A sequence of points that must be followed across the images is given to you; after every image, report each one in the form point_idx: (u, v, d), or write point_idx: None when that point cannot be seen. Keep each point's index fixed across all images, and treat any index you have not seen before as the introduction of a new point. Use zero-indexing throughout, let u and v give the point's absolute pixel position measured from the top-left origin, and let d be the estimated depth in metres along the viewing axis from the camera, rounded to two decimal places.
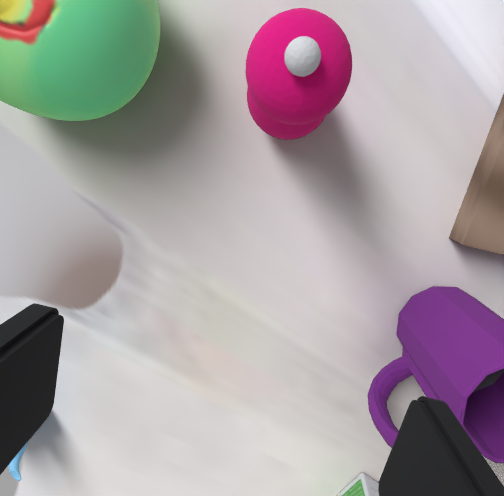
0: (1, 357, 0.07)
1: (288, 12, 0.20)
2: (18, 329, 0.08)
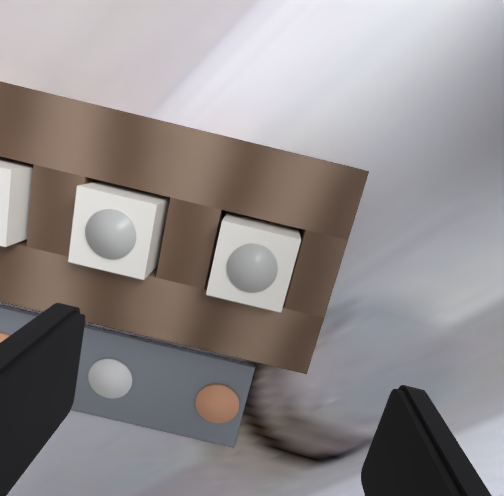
0: (31, 354, 0.08)
1: None
2: (45, 327, 0.09)
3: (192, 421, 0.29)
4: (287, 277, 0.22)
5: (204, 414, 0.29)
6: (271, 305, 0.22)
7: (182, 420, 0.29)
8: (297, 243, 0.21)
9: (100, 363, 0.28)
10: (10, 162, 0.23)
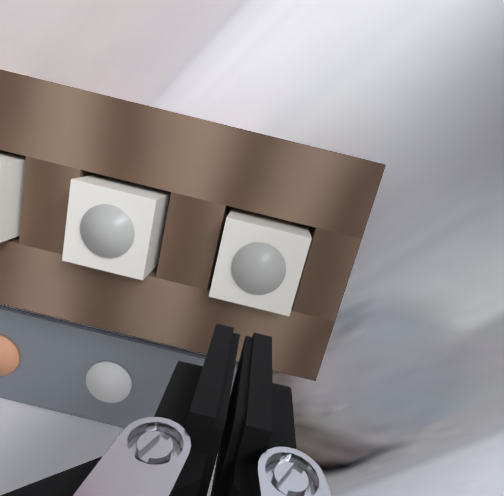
0: (229, 374, 0.09)
1: None
2: (224, 348, 0.10)
3: None
4: (296, 278, 0.20)
5: None
6: (278, 308, 0.21)
7: None
8: (307, 242, 0.20)
9: (98, 366, 0.27)
10: (1, 154, 0.21)
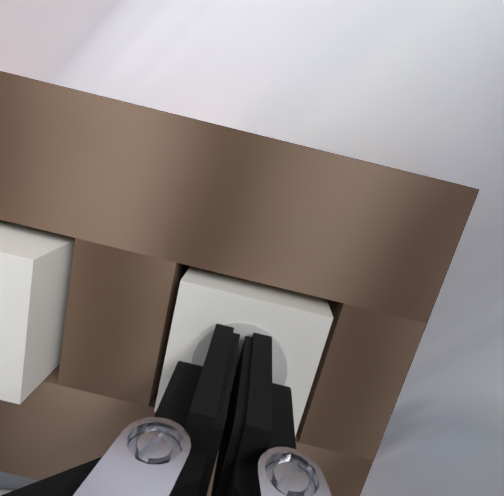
0: (229, 374, 0.09)
1: None
2: (224, 348, 0.10)
3: None
4: (305, 385, 0.12)
5: None
6: None
7: None
8: (325, 324, 0.11)
9: None
10: None
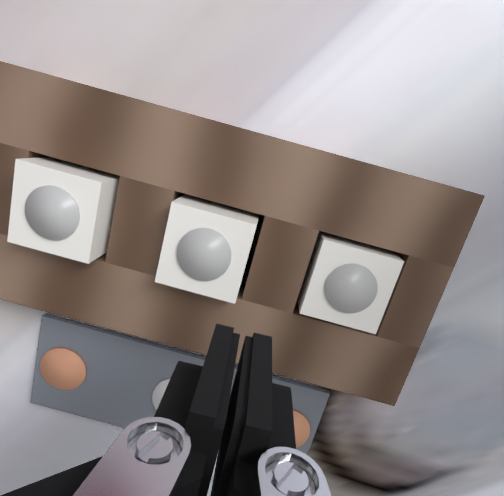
0: (229, 374, 0.09)
1: None
2: (224, 348, 0.10)
3: None
4: (386, 299, 0.21)
5: None
6: (366, 326, 0.22)
7: None
8: (399, 265, 0.21)
9: (166, 383, 0.27)
10: (93, 172, 0.21)
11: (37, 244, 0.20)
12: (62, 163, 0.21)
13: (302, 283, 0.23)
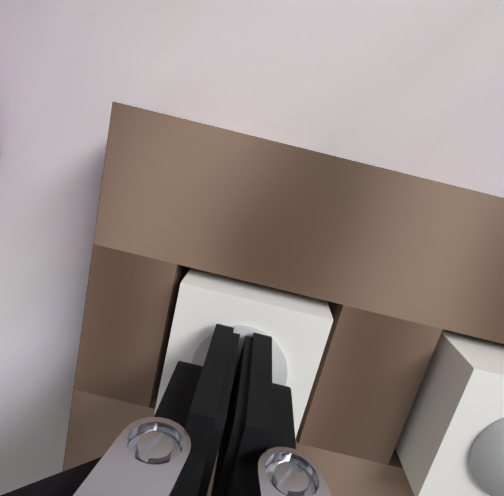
0: (229, 374, 0.09)
1: None
2: (224, 348, 0.10)
3: None
4: None
5: None
6: None
7: None
8: None
9: None
10: None
11: None
12: None
13: None
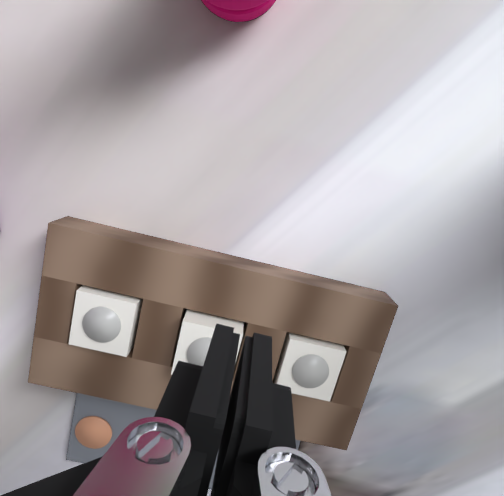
0: (229, 374, 0.09)
1: None
2: (224, 348, 0.10)
3: None
4: (335, 377, 0.30)
5: None
6: (323, 396, 0.30)
7: None
8: (343, 354, 0.30)
9: None
10: None
11: (89, 345, 0.29)
12: None
13: None
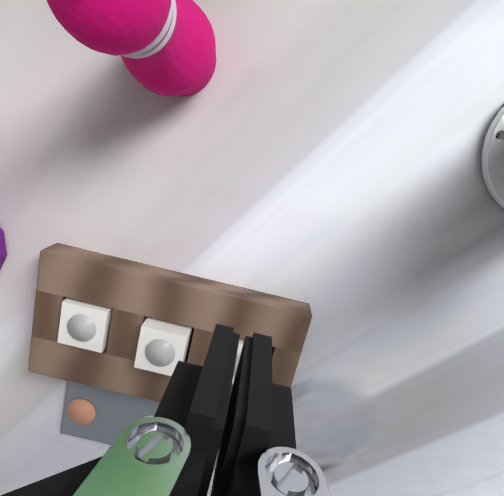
0: (229, 374, 0.09)
1: None
2: (224, 348, 0.10)
3: None
4: None
5: None
6: None
7: None
8: None
9: None
10: None
11: (73, 343, 0.38)
12: None
13: None
